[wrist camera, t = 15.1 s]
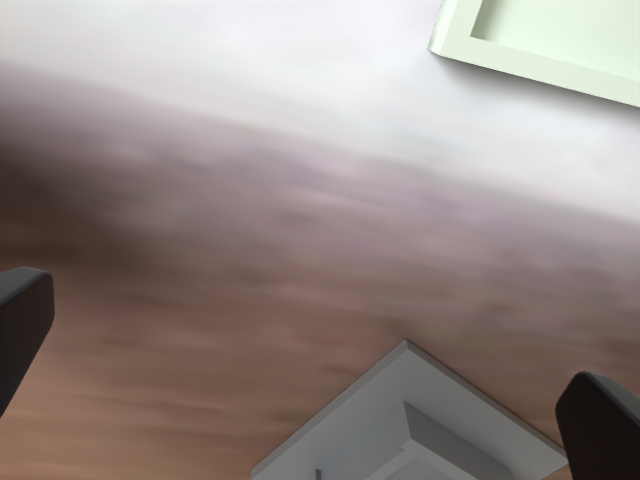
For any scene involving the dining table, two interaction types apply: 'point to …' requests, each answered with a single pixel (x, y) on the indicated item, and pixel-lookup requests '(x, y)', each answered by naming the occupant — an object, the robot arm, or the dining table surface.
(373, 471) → the grey square socket base
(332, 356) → the dining table surface
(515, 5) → the tray
